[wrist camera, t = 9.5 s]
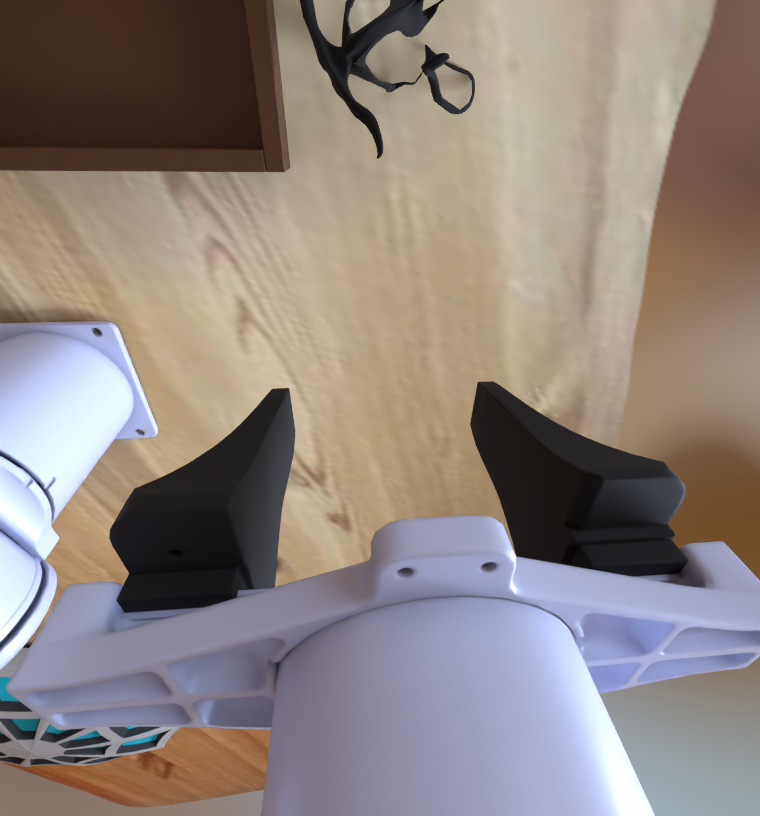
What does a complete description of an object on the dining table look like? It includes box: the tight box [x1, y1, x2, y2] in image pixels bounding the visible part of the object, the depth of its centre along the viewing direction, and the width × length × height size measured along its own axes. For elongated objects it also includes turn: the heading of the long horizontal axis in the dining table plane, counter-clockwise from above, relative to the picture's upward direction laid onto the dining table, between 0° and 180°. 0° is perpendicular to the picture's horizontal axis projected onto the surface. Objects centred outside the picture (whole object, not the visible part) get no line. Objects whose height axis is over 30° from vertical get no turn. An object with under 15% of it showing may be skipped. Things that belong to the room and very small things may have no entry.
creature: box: [300, 0, 475, 159], centre depth 14 cm, size 8×5×8 cm
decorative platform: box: [0, 648, 180, 767], centre depth 46 cm, size 31×29×5 cm
